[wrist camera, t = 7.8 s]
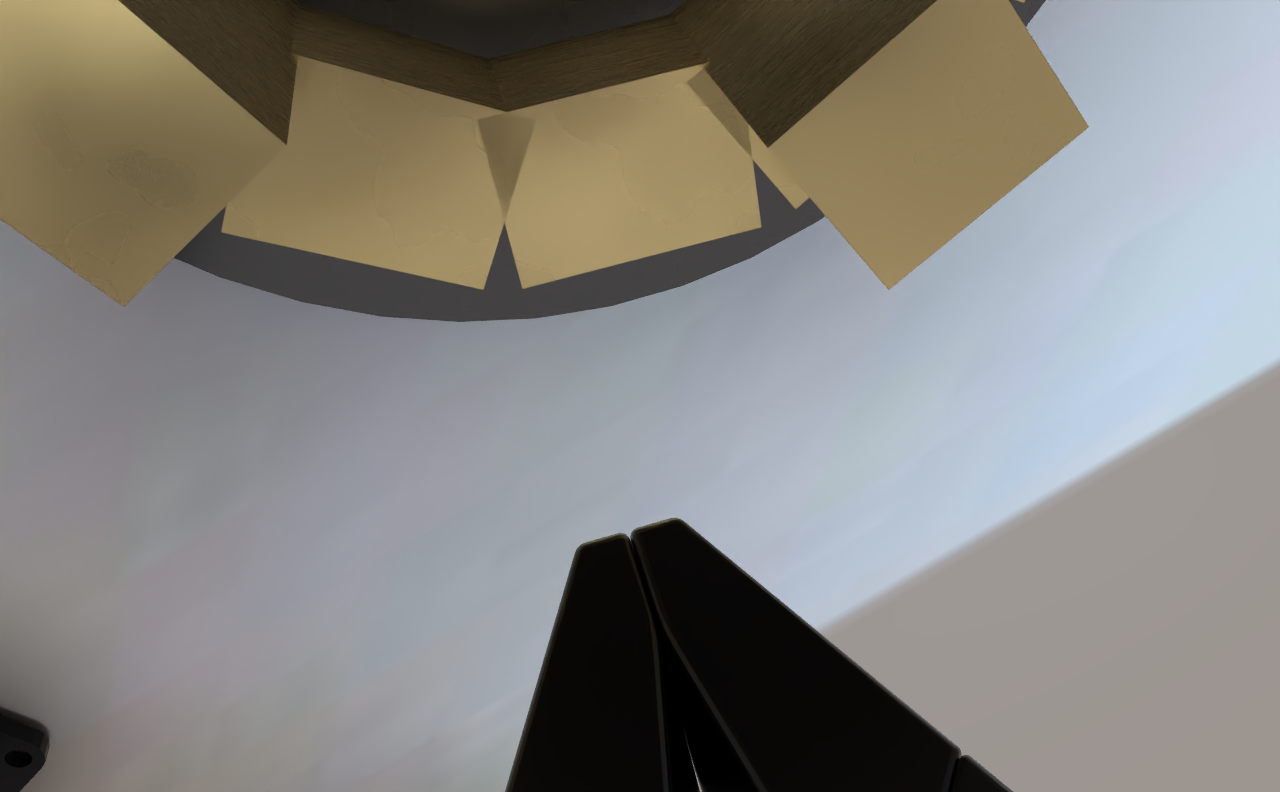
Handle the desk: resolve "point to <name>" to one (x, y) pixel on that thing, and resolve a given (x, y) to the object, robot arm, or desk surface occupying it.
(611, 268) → the cap plate
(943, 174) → the ring nut
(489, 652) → the desk surface
